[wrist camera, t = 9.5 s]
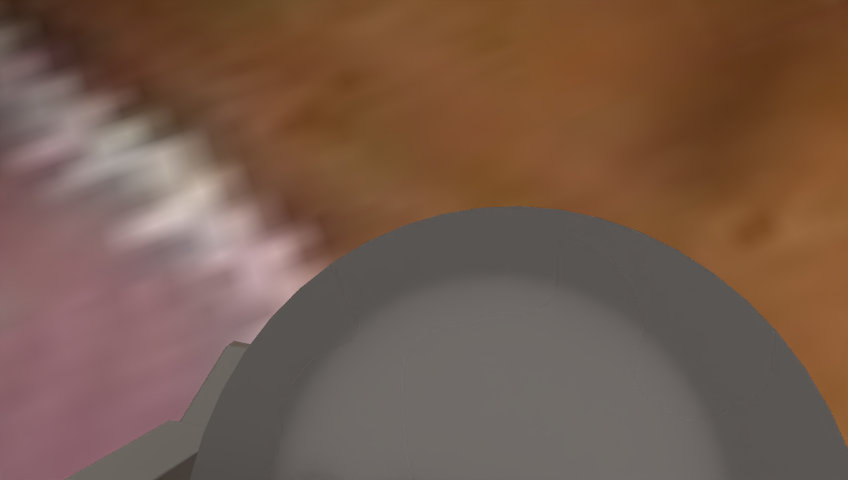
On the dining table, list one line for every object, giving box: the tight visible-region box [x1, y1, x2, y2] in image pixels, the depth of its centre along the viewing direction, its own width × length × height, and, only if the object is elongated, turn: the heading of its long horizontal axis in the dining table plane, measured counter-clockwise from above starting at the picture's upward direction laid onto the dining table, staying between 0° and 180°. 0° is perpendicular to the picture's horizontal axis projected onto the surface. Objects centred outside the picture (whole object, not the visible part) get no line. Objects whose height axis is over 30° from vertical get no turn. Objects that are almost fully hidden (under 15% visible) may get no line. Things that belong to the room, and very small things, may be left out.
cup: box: [190, 206, 848, 480], centre depth 10 cm, size 5×5×12 cm
